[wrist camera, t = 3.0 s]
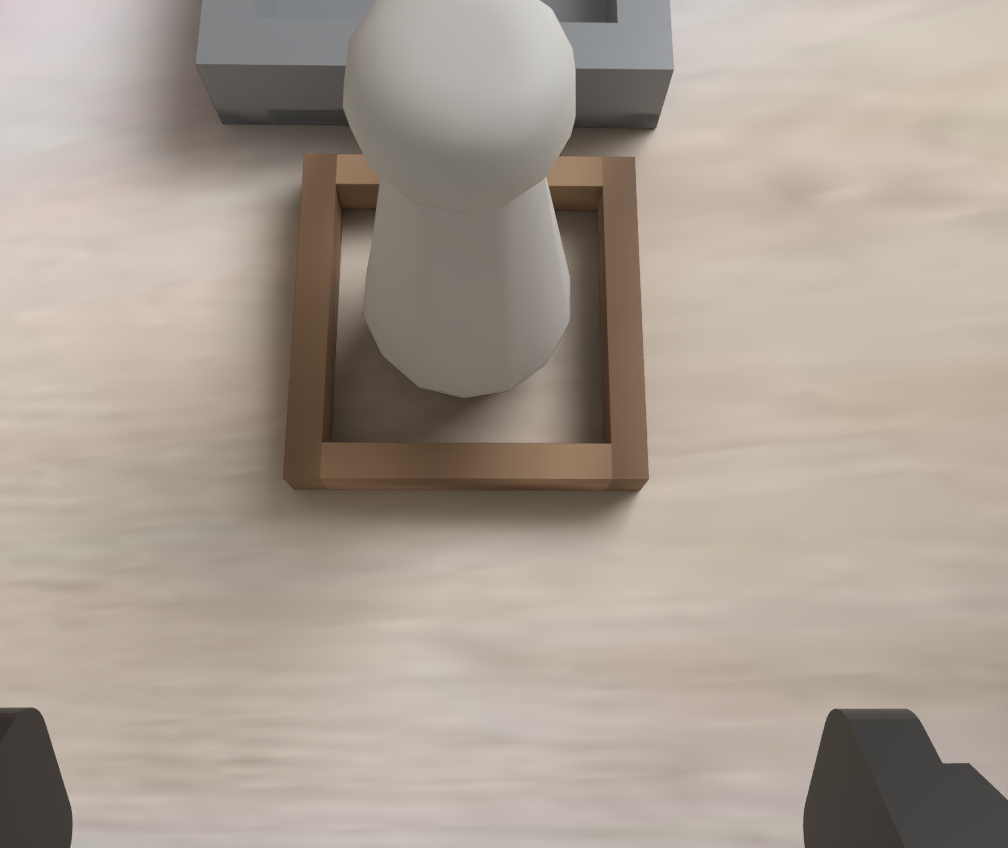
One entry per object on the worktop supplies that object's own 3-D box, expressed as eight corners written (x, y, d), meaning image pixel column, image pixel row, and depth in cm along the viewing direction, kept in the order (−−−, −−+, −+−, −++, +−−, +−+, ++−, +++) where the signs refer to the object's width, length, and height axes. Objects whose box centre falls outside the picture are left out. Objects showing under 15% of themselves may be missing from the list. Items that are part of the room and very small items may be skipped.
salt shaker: (446, 457, 28) (414, 261, 15) (336, 310, 29) (222, 16, 16) (603, 346, 29) (694, 76, 16) (490, 208, 30) (493, -141, 17)
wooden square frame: (627, 182, 30) (634, 156, 29) (640, 490, 28) (648, 478, 26) (312, 179, 30) (304, 153, 29) (293, 489, 27) (283, 477, 26)
